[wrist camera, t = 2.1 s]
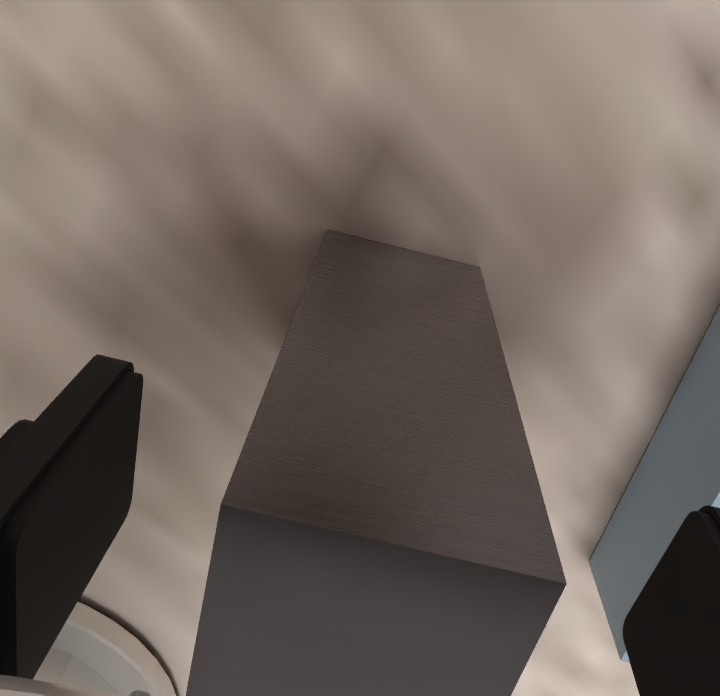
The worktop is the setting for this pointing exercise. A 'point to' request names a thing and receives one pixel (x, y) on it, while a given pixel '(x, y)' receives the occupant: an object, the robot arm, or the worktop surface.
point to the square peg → (381, 499)
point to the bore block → (663, 487)
